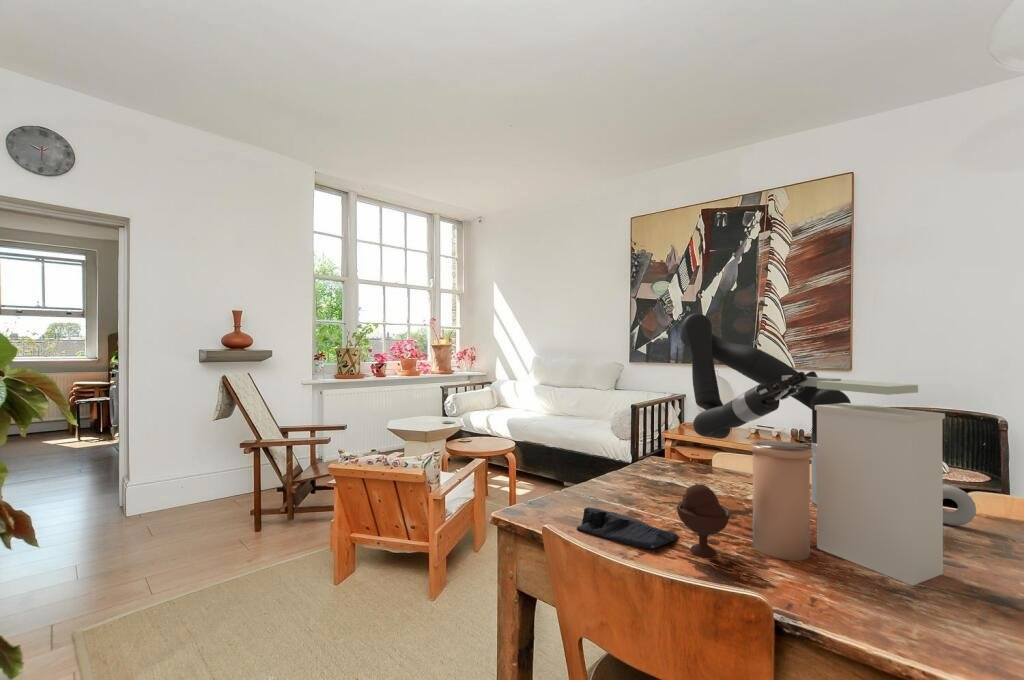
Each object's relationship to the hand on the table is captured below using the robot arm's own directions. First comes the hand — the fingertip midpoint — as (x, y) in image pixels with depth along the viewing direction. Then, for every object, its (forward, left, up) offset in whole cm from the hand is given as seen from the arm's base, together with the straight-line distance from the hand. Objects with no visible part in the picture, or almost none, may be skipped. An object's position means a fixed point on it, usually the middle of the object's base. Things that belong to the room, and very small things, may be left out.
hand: (809, 375), depth 113 cm
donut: (-39, +10, -39) cm, 56 cm away
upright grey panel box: (0, +14, -38) cm, 41 cm away
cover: (0, +7, -2) cm, 7 cm away
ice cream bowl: (+31, -4, -39) cm, 49 cm away
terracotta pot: (+14, +2, -38) cm, 41 cm away
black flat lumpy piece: (+39, -20, -39) cm, 59 cm away
